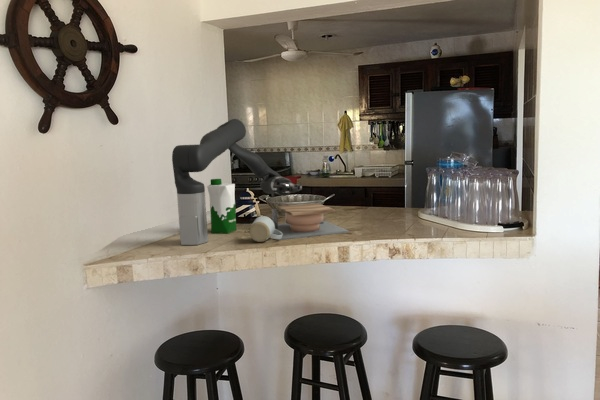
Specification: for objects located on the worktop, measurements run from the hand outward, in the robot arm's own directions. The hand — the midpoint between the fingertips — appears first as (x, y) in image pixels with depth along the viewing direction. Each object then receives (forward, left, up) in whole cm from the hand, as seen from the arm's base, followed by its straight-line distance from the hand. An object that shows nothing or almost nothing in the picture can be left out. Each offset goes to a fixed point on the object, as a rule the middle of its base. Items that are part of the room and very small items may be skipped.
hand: (294, 190), depth 178 cm
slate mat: (-8, -4, -14) cm, 17 cm away
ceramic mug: (-26, +6, -14) cm, 30 cm away
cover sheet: (-11, -6, -6) cm, 14 cm away
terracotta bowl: (-10, -5, -14) cm, 18 cm away
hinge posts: (-3, -2, -14) cm, 15 cm away
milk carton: (-10, +26, -14) cm, 31 cm away
